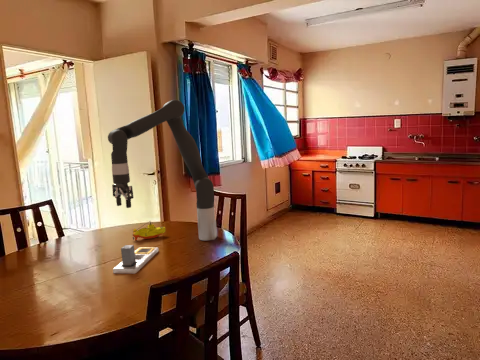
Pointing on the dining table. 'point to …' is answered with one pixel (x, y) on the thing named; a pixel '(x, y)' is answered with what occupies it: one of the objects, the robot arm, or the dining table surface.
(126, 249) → the peg
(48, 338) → the dining table surface
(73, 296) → the dining table surface
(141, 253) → the rail
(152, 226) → the toy boat
